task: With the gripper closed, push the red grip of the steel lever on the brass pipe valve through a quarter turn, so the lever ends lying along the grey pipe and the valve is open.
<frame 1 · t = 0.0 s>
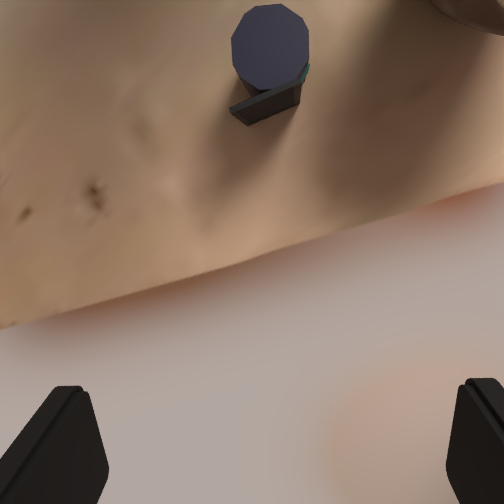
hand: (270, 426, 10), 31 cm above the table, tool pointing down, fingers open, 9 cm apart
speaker: (266, 74, 35), on the table
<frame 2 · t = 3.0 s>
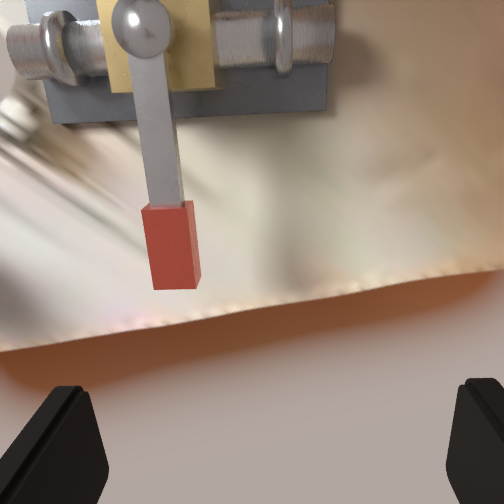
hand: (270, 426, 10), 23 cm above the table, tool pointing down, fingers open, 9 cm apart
valve lever: (161, 157, 21), point 9 cm above the table, hinge at 0.0°
valve body: (182, 49, 27), on the table
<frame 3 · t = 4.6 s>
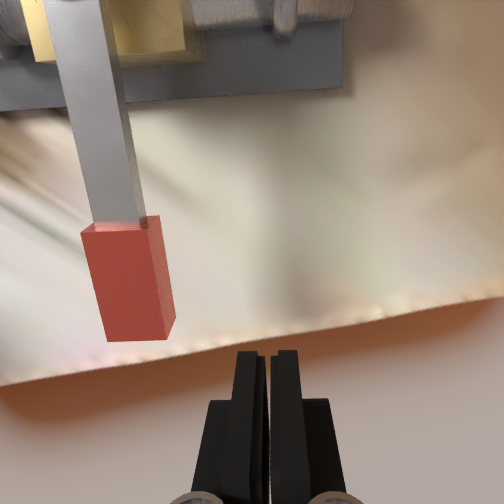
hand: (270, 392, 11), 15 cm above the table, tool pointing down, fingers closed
valve lever: (107, 155, 14), point 9 cm above the table, hinge at 0.0°
valve body: (146, 7, 20), on the table
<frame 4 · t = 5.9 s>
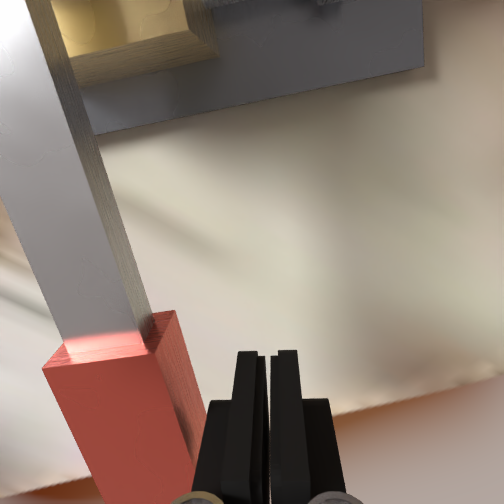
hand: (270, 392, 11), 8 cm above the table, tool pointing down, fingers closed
valve lever: (72, 229, 8), point 9 cm above the table, hinge at -0.1°, touching gripper
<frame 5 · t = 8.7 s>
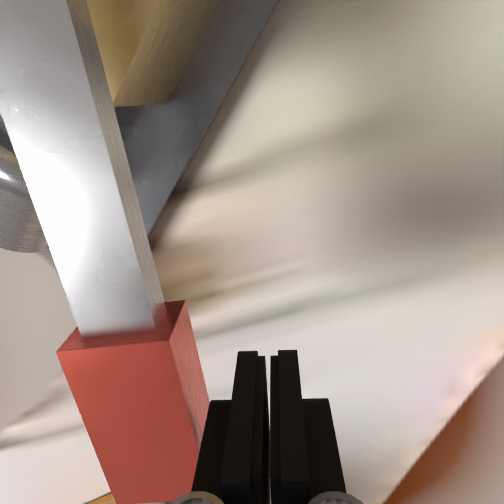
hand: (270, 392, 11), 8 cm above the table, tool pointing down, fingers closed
valve lever: (93, 217, 8), point 9 cm above the table, hinge at -50.0°, touching gripper
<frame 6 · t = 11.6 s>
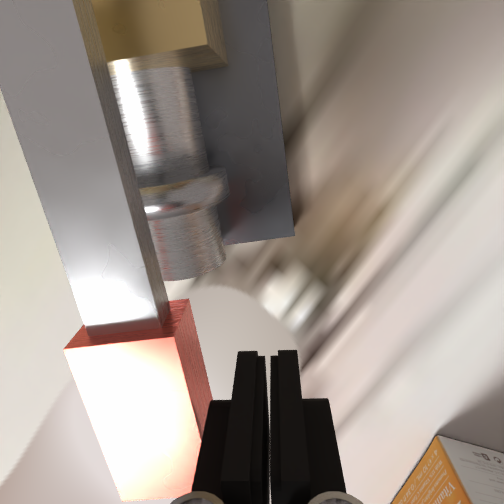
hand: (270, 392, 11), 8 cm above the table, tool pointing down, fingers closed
small box: (448, 488, 23), on the table
valve lever: (99, 217, 9), point 9 cm above the table, hinge at -90.1°, touching gripper
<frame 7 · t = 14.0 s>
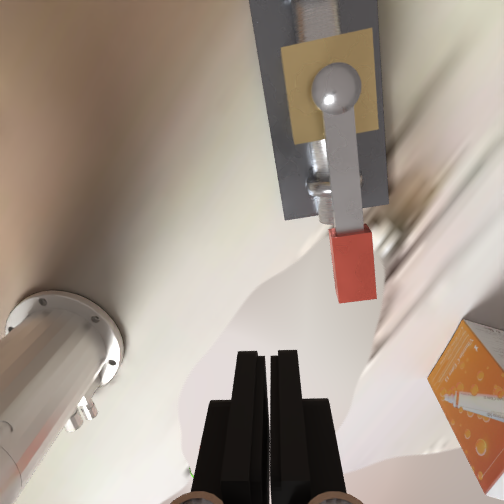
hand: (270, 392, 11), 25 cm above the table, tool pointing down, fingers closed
small box: (470, 356, 40), on the table
valve lever: (345, 192, 25), point 9 cm above the table, hinge at -90.1°
valve body: (321, 90, 31), on the table
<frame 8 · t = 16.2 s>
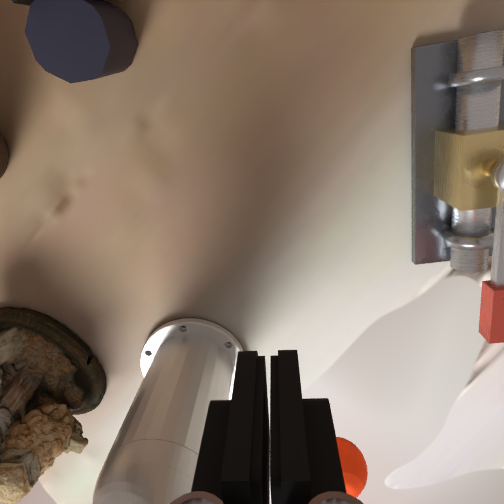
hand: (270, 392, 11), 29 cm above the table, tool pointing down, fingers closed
owl figurine: (51, 360, 48), on the table
valve body: (460, 158, 36), on the table
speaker: (115, 37, 34), on the table
clementine: (329, 443, 50), on the table
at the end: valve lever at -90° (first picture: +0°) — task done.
